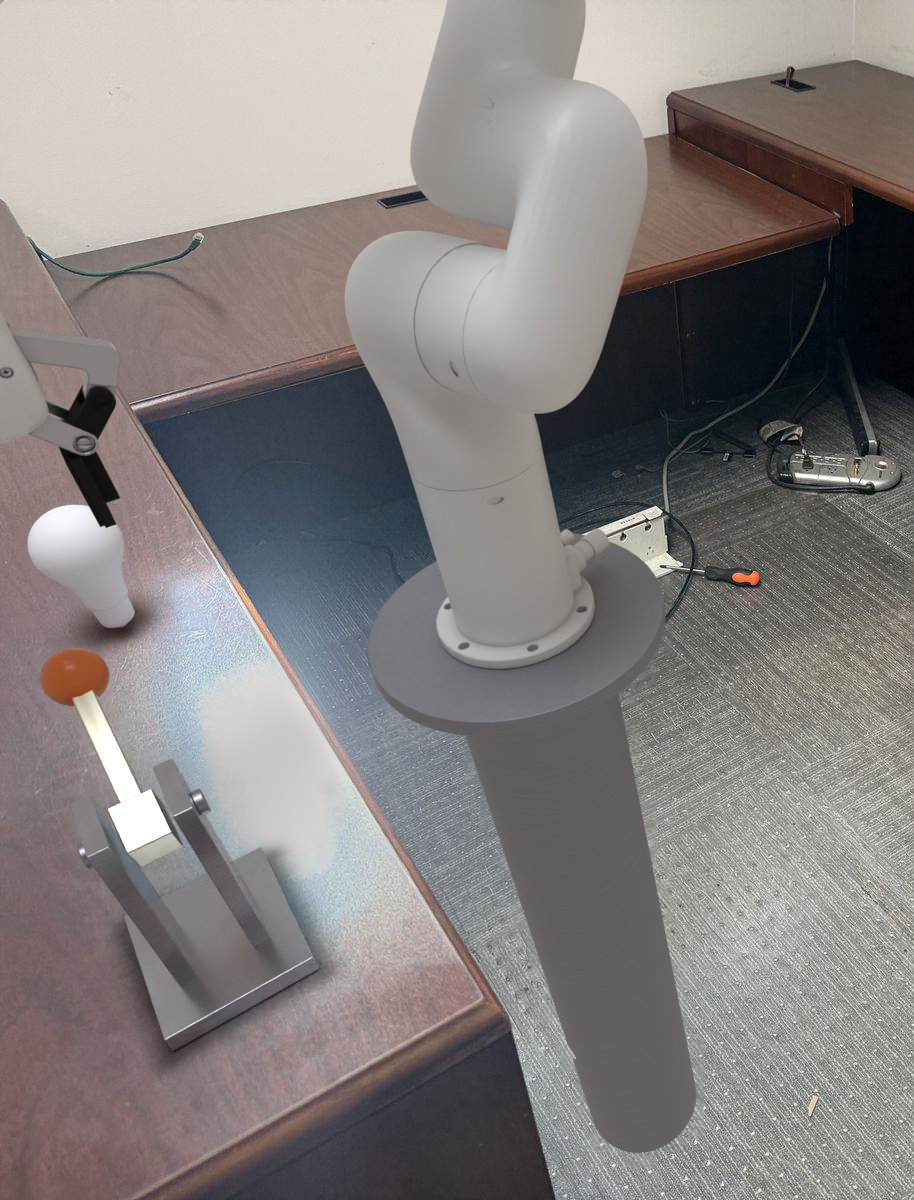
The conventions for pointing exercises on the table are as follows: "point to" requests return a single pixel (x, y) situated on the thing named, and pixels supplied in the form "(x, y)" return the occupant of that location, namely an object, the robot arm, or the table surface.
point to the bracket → (199, 919)
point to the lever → (111, 754)
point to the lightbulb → (83, 560)
